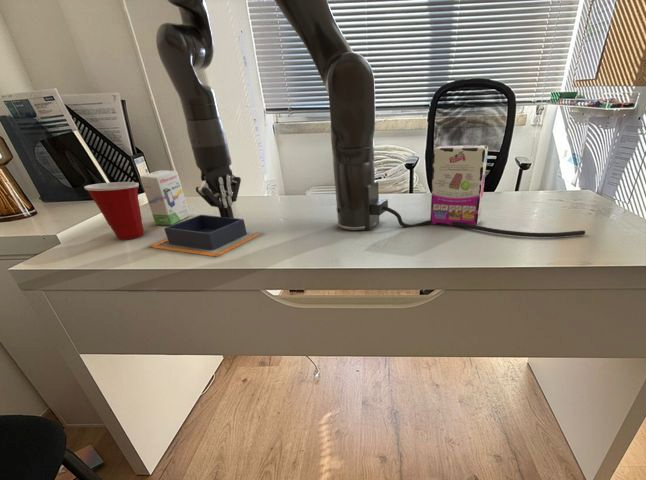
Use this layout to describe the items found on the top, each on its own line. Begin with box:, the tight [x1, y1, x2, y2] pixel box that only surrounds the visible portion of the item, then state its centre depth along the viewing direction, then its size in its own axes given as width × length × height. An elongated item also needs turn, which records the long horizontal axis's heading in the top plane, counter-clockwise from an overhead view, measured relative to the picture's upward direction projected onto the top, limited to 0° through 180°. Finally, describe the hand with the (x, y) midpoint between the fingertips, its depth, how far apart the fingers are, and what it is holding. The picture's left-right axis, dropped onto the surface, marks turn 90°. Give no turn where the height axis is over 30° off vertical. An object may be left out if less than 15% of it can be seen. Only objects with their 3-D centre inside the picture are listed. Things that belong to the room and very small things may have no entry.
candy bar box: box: [429, 145, 489, 227], centre depth 87 cm, size 11×5×16 cm, turn 68°
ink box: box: [139, 169, 191, 226], centre depth 100 cm, size 9×5×12 cm, turn 168°
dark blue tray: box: [164, 214, 248, 251], centre depth 89 cm, size 13×11×4 cm
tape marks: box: [148, 233, 261, 258], centre depth 88 cm, size 20×15×1 cm
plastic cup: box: [83, 181, 145, 241], centre depth 90 cm, size 11×11×12 cm
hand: (228, 222), depth 94 cm, fingers closed
